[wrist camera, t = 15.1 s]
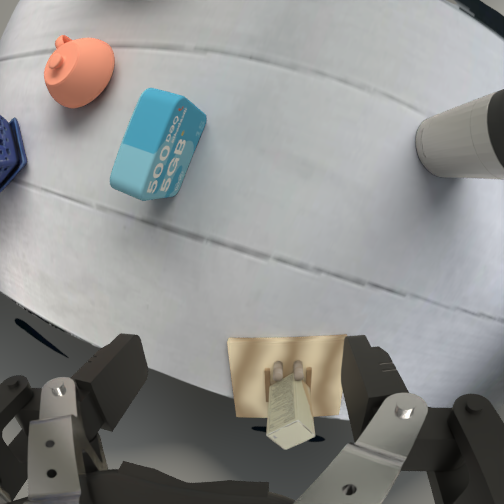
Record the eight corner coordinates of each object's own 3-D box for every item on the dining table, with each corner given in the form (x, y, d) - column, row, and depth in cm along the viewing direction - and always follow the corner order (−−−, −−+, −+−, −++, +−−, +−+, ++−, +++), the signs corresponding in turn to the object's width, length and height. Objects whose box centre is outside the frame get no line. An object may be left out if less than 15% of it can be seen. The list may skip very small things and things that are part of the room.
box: (284, 401, 43) (282, 451, 33) (268, 385, 43) (263, 436, 32) (311, 386, 42) (316, 437, 31) (296, 370, 42) (298, 420, 31)
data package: (177, 196, 40) (138, 202, 28) (150, 185, 40) (105, 188, 28) (209, 117, 37) (181, 92, 25) (181, 108, 37) (144, 83, 25)
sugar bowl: (72, 124, 39) (31, 116, 29) (59, 66, 37) (24, 52, 27) (129, 84, 37) (93, 64, 27) (111, 27, 34) (79, 4, 24)
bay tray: (346, 334, 42) (352, 351, 37) (337, 409, 46) (341, 428, 41) (228, 337, 44) (222, 354, 39) (237, 411, 48) (233, 430, 43)
